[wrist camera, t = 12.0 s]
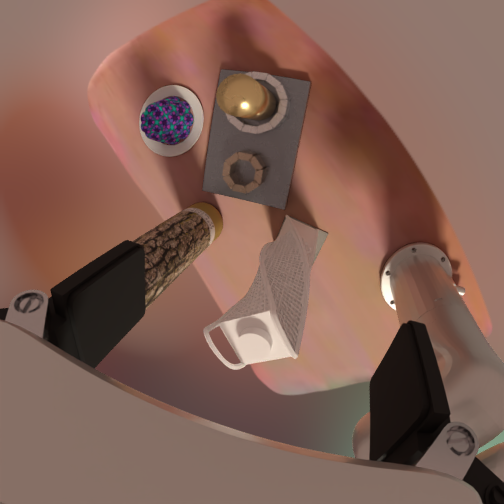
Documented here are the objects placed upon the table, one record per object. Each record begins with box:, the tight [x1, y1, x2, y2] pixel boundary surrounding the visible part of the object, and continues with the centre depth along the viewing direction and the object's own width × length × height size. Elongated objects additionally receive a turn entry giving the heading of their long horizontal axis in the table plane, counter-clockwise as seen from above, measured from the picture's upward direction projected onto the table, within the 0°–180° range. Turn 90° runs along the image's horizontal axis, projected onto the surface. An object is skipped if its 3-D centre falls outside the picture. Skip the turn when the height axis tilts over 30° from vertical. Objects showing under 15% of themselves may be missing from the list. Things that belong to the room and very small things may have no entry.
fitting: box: [216, 74, 276, 121], centre depth 34 cm, size 5×5×10 cm
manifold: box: [202, 69, 311, 210], centre depth 41 cm, size 13×19×4 cm
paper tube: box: [133, 202, 223, 309], centre depth 39 cm, size 7×7×25 cm
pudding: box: [139, 85, 204, 157], centre depth 43 cm, size 12×12×5 cm
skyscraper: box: [203, 215, 328, 370], centre depth 35 cm, size 8×8×28 cm
